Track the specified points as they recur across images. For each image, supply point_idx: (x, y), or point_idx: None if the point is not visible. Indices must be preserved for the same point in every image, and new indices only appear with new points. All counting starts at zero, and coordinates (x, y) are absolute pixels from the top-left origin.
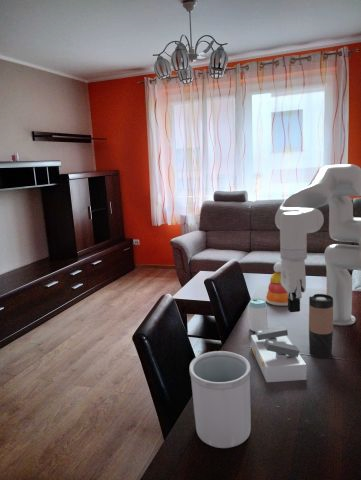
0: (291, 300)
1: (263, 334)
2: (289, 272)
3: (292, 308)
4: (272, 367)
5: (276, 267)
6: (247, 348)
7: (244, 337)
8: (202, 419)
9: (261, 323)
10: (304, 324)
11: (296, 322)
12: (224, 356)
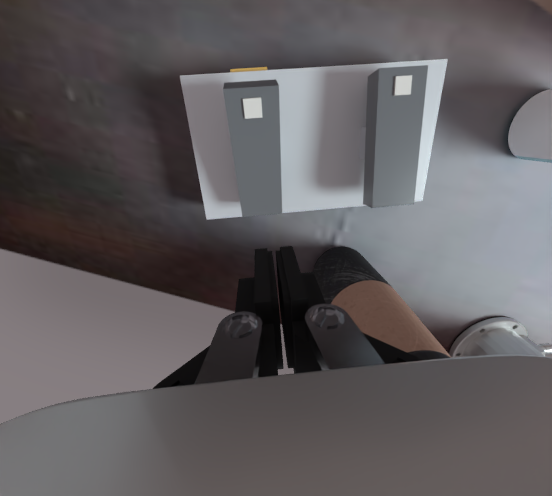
0: (230, 318)
1: (376, 98)
2: None
3: (252, 278)
4: (185, 102)
5: None
6: (415, 53)
7: (499, 56)
8: None
9: (538, 133)
10: (497, 270)
11: (519, 254)
12: None
